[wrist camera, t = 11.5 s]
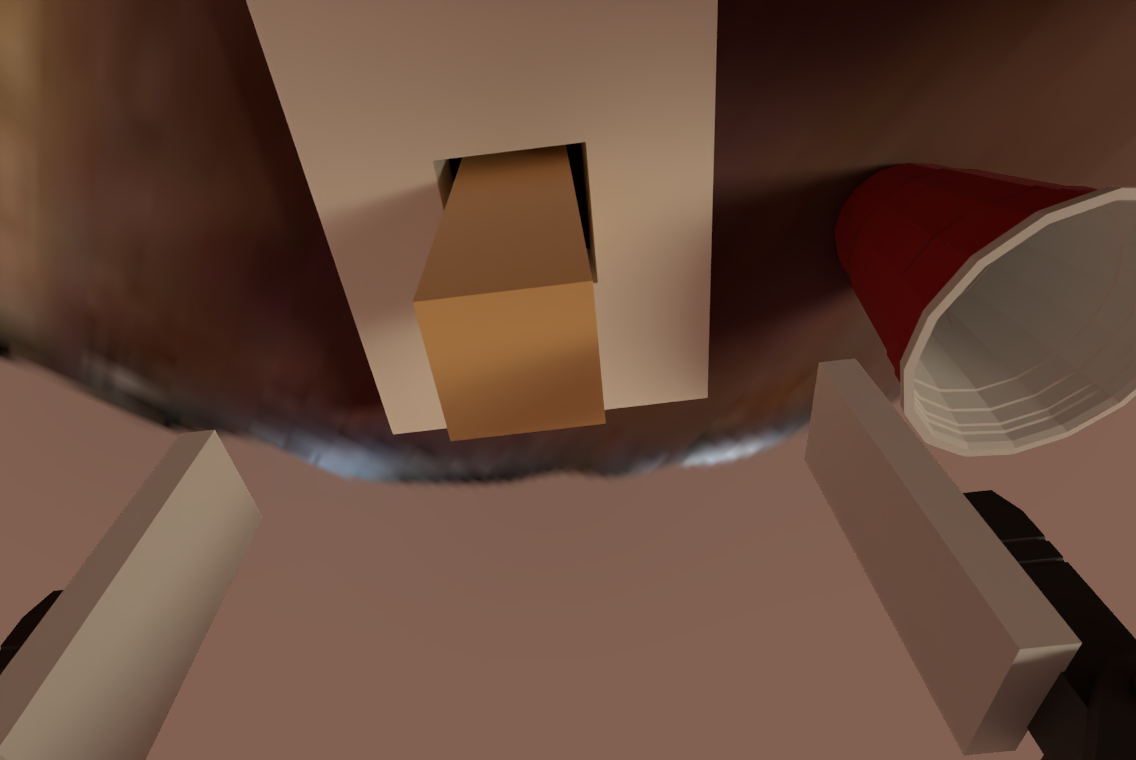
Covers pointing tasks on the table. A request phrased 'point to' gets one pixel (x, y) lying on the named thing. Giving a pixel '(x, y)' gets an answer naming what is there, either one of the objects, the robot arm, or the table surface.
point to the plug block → (511, 300)
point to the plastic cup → (996, 301)
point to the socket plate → (500, 124)
